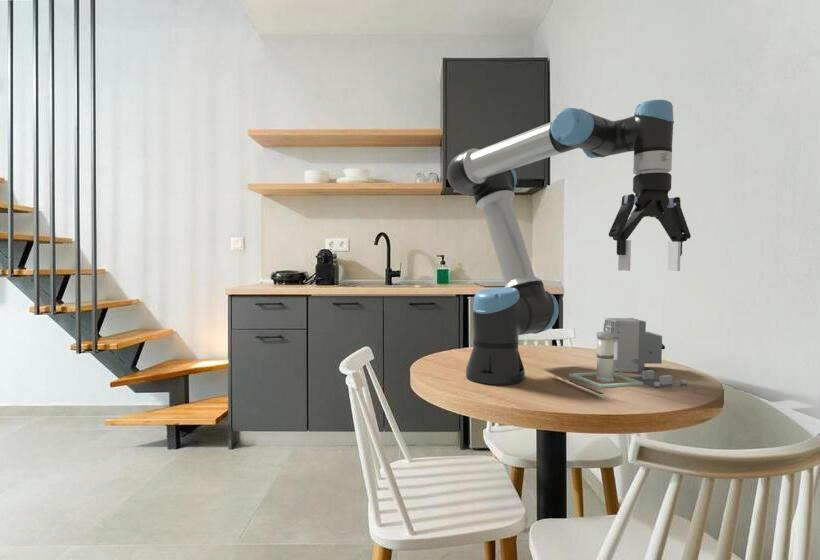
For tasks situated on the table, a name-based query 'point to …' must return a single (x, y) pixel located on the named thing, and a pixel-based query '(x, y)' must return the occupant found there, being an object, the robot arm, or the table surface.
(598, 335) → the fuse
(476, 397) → the table surface
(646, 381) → the block
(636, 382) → the tray
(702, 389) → the table surface
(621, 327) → the circuit breaker
